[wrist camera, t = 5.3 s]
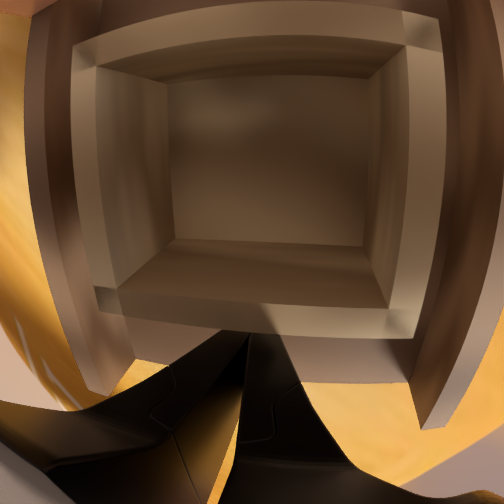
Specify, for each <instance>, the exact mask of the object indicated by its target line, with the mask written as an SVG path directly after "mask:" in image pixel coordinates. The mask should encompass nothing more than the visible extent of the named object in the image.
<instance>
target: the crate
mask: <svg viewBox="0 0 504 504" xmlns="http://www.w3.org/2000/svg"><path fill="white" fill-rule="evenodd" d="M71 140H72V155H73V168H74V178H75V187H76V195H77V203H78V210H79V217H80V223H81V229H82V235H83V240H84V246H85V251H86V256H87V261H88V265H89V270H90V274H91V279H92V283H93V287H94V291H95V295H96V299H97V303H98V307H99V310H100V312H106V313H111V314H117V315H122V316H128V317H134V318H140V319H146V320H153V321H160V322H166V323H173V324H181V325H188V326H196V327H205V328H213V329H222V330H232V331H242V332H253V333H265V334H278V335H292V336H310V337H332V338H371V339H406V338H413V336H414V333H415V329H416V326H417V323H418V319H419V315H420V312H421V308H422V304H423V300H424V296H425V292H426V288H427V284H428V279H429V275H430V270H431V265H432V260H433V255H434V250H435V244H436V238H437V232H438V226H439V219H440V211H441V203H442V194H443V184H444V172H445V156H446V87H445V72H444V60H443V51H442V42H441V35H440V28H439V22H438V19H436V18H432V17H428V16H424V15H420V14H416V13H411V12H406V11H401V10H396V9H390V8H384V7H378V6H371V5H363V4H354V3H344V2H330V1H299V0H293V1H262V2H248V3H238V4H229V5H221V6H213V7H207V8H201V9H195V10H189V11H184V12H179V13H175V14H170V15H166V16H162V17H157V18H154V19H150V20H146V21H142V22H139V23H135V24H132V25H129V26H125V27H122V28H119V29H116V30H113V31H110V32H107V33H104V34H102V35H99V36H96V37H94V38H91V39H88V40H86V41H83V42H81V43H78V44H76V45H74V46H73V50H72V65H71Z"/></svg>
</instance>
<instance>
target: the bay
mask: <svg viewBox="0 0 504 504" xmlns="http://www.w3.org/2000/svg"><path fill="white" fill-rule="evenodd" d="M262 1H293V0H0V12H2V13H7V14H13V15H18V16H23V17H28V18H30V17H31V16H32V21H31V27H30V33H29V40H28V48H27V58H26V70H25V86H24V136H25V154H26V166H27V176H28V185H29V192H30V200H31V206H32V212H33V218H34V224H35V229H36V234H37V239H38V244H39V248H40V253H41V257H42V261H43V265H44V269H45V273H46V276H47V280H48V284H49V287H50V291H51V294H52V297H53V300H54V304H55V307H56V310H57V313H58V316H59V319H60V322H61V325H62V327H63V330H64V333H65V336H66V338H67V341H68V344H69V346H70V349H71V351H72V354H73V356H74V359H75V361H76V363H77V366H78V368H79V370H80V373H81V375H82V377H83V379H84V381H85V384H86V386H87V388H88V390H89V391H92V392H95V393H98V394H101V395H104V396H107V397H108V396H109V395H110V394H111V392H112V391H113V389H114V388H115V387H116V385H117V384H118V382H119V381H120V380H121V378H122V377H123V375H124V374H125V373H126V371H127V370H128V368H129V367H130V366H131V364H132V363H133V362H134V360H135V359H140V360H145V361H149V362H154V363H159V364H164V365H170V364H171V363H173V362H174V361H176V360H177V359H179V358H180V357H182V356H183V355H185V354H186V353H188V352H189V351H191V350H192V349H194V348H195V347H197V346H198V345H200V344H201V343H203V342H204V341H205V340H207V339H208V338H210V337H211V336H213V335H214V334H216V333H217V332H219V331H220V330H221V329H213V328H205V327H196V326H188V325H181V324H173V323H166V322H160V321H153V320H146V319H140V318H134V317H128V316H122V315H117V314H111V313H106V312H100V310H99V307H98V303H97V299H96V295H95V291H94V287H93V283H92V279H91V274H90V270H89V265H88V261H87V256H86V251H85V246H84V240H83V235H82V229H81V223H80V217H79V210H78V203H77V195H76V187H75V178H74V168H73V155H72V140H71V65H72V50H73V46H74V45H76V44H78V43H81V42H83V41H86V40H88V39H91V38H94V37H96V36H99V35H102V34H104V33H107V32H110V31H113V30H116V29H119V28H122V27H125V26H129V25H132V24H135V23H139V22H142V21H146V20H150V19H154V18H157V17H162V16H166V15H170V14H175V13H179V12H184V11H189V10H195V9H201V8H207V7H213V6H221V5H229V4H238V3H248V2H262ZM299 1H330V2H344V3H354V4H363V5H371V6H378V7H384V8H390V9H396V10H401V11H406V12H411V13H416V14H420V15H424V16H428V17H432V18H436V19H438V22H439V28H440V35H441V42H442V51H443V60H444V72H445V87H446V156H445V172H444V184H443V194H442V203H441V211H440V219H439V226H438V232H437V238H436V244H435V250H434V255H433V260H432V265H431V270H430V275H429V279H428V284H427V288H426V292H425V296H424V300H423V304H422V308H421V312H420V315H419V319H418V323H417V326H416V329H415V333H414V336H413V338H406V339H371V338H332V337H310V336H292V335H280V336H281V338H282V340H283V343H284V345H285V347H286V350H287V352H288V354H289V356H290V359H291V361H292V363H293V365H294V368H295V370H296V372H297V374H298V377H299V379H300V381H301V382H315V383H349V384H372V383H406V382H408V384H409V387H410V391H411V394H412V398H413V401H414V405H415V409H416V413H417V416H418V420H419V424H420V429H421V430H426V429H434V428H441V427H445V426H446V424H447V423H448V421H449V420H450V418H451V416H452V415H453V413H454V411H455V410H456V408H457V406H458V405H459V403H460V401H461V399H462V398H463V396H464V394H465V392H466V390H467V389H468V387H469V385H470V383H471V381H472V379H473V377H474V375H475V373H476V371H477V369H478V367H479V365H480V363H481V361H482V358H483V356H484V354H485V352H486V350H487V347H488V345H489V343H490V340H491V338H492V335H493V333H494V330H495V328H496V325H497V323H498V320H499V317H500V315H501V312H502V309H503V306H504V0H299Z"/></svg>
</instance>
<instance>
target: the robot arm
mask: <svg viewBox="0 0 504 504" xmlns="http://www.w3.org/2000/svg"><path fill="white" fill-rule="evenodd" d="M238 419H239V424H238V433H237V441H236V449H235V456H234V461H233V466H232V468H231V471H230V474H229V476H228V479H227V481H226V484H225V487H224V489H223V492H222V494H221V497H220V499H219V502H218V504H504V498H503V497H501V496H499V495H497V494H495V493H493V492H490V491H487V490H477V491H473V492H469V493H465V494H461V495H458V496H454V497H448V498H431V497H425V496H421V495H418V494H415V493H412V492H409V491H407V490H404V489H402V488H400V487H397V486H395V485H392V484H390V483H388V482H386V481H383V480H381V479H379V478H377V477H374V476H372V475H370V474H368V473H366V472H364V471H362V470H360V469H359V468H357V467H356V466H355V465H354V464H353V463H352V462H351V461H350V460H349V459H348V458H347V456H346V455H345V454H344V452H343V451H342V450H341V448H340V447H339V445H338V444H337V442H336V441H335V439H334V438H333V437H332V435H331V434H330V432H329V431H328V429H327V428H326V426H325V425H324V424H323V422H322V421H321V419H320V417H319V416H318V414H317V413H316V411H315V409H314V408H313V406H312V404H311V402H310V400H309V398H308V396H307V394H306V392H305V390H304V388H303V385H302V384H301V381H300V379H299V377H298V374H297V372H296V370H295V368H294V365H293V363H292V361H291V359H290V356H289V354H288V352H287V350H286V347H285V345H284V343H283V340H282V338H281V336H280V335H278V334H265V333H253V332H242V331H232V330H222V329H221V330H220V331H219V332H217V333H216V334H214V335H213V336H211V337H210V338H208V339H207V340H205V341H204V342H203V343H201V344H200V345H198V346H197V347H195V348H194V349H192V350H191V351H189V352H188V353H186V354H185V355H183V356H182V357H180V358H179V359H177V360H176V361H174V362H173V363H171V364H170V365H169V367H168V366H166V367H165V368H163V369H162V370H160V371H159V372H157V373H156V374H154V375H152V376H151V377H149V378H147V379H146V380H144V381H142V382H140V383H138V384H137V385H135V386H133V387H131V388H129V389H127V390H125V391H123V392H121V393H119V394H117V395H115V396H113V397H110V398H108V399H106V400H104V401H102V402H100V403H98V404H96V405H93V406H91V407H89V408H86V409H83V410H79V411H57V410H50V409H44V408H37V407H31V406H26V405H20V404H15V403H10V402H6V401H2V400H0V504H207V501H208V499H209V496H210V494H211V491H212V489H213V486H214V484H215V481H216V478H217V476H218V473H219V470H220V468H221V465H222V463H223V460H224V457H225V454H226V452H227V449H228V446H229V444H230V441H231V438H232V435H233V433H234V430H235V427H236V424H237V421H238Z"/></svg>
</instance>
